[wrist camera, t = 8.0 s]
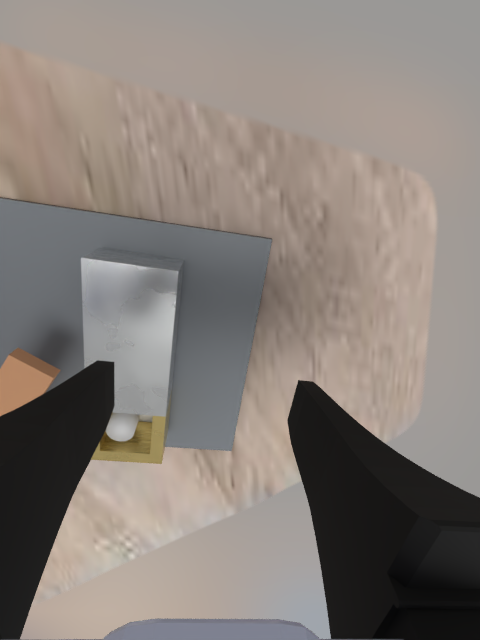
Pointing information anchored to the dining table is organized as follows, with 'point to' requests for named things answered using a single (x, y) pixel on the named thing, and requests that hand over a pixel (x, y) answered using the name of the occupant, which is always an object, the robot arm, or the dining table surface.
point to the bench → (194, 314)
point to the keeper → (23, 379)
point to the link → (133, 341)
